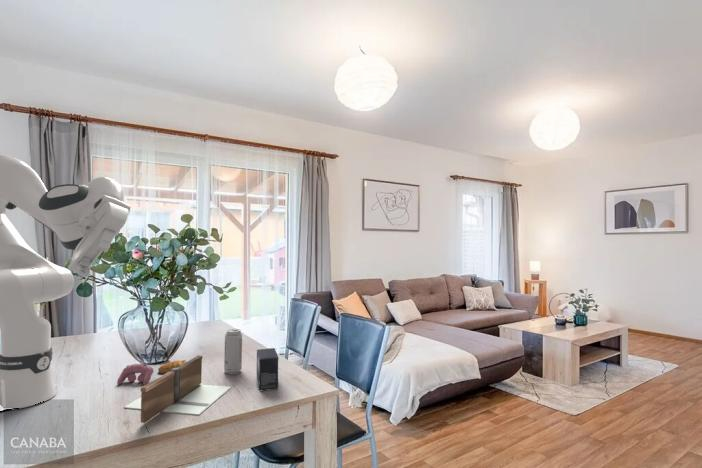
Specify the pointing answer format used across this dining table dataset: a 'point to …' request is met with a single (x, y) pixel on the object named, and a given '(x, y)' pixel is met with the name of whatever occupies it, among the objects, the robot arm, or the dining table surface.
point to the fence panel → (157, 396)
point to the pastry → (170, 366)
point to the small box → (267, 369)
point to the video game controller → (136, 368)
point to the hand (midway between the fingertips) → (93, 262)
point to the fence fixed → (187, 377)
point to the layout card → (191, 400)
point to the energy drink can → (233, 351)
